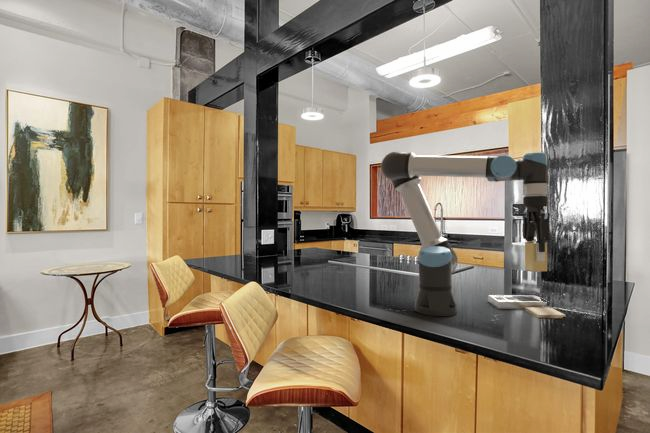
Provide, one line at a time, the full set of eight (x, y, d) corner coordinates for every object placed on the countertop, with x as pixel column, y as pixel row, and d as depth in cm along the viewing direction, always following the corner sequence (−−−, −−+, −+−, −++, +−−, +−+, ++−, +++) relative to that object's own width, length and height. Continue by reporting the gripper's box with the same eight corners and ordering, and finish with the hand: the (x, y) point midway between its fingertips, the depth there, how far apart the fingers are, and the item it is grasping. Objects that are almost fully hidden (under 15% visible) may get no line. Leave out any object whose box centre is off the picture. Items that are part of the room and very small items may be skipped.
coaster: (537, 319, 114) (537, 314, 114) (524, 311, 123) (524, 307, 123) (565, 319, 114) (565, 315, 114) (550, 311, 123) (550, 307, 123)
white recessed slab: (498, 309, 126) (498, 301, 126) (488, 302, 136) (488, 294, 136) (549, 310, 124) (549, 301, 124) (535, 302, 134) (535, 295, 134)
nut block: (532, 271, 121) (532, 243, 121) (525, 269, 126) (524, 242, 126) (547, 271, 120) (546, 243, 120) (539, 268, 125) (538, 241, 125)
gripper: (562, 194, 113) (562, 263, 114) (532, 196, 131) (532, 256, 132) (538, 194, 114) (539, 263, 114) (512, 197, 132) (512, 256, 132)
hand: (535, 259), depth 123 cm, fingers closed on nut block, 5 cm apart
